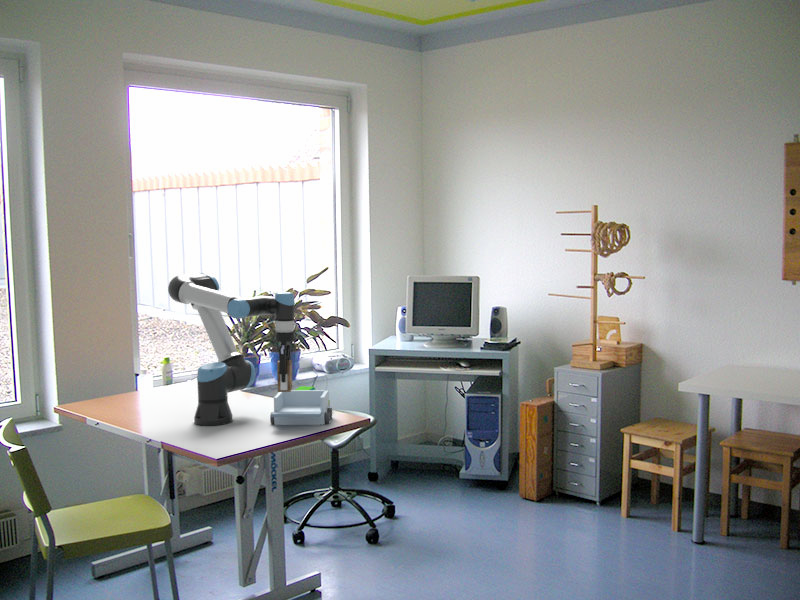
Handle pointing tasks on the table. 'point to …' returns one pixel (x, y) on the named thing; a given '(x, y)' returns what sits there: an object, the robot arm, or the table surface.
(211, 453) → the table surface
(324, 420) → the truck bed
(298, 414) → the tailgate
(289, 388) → the brown wooden block
